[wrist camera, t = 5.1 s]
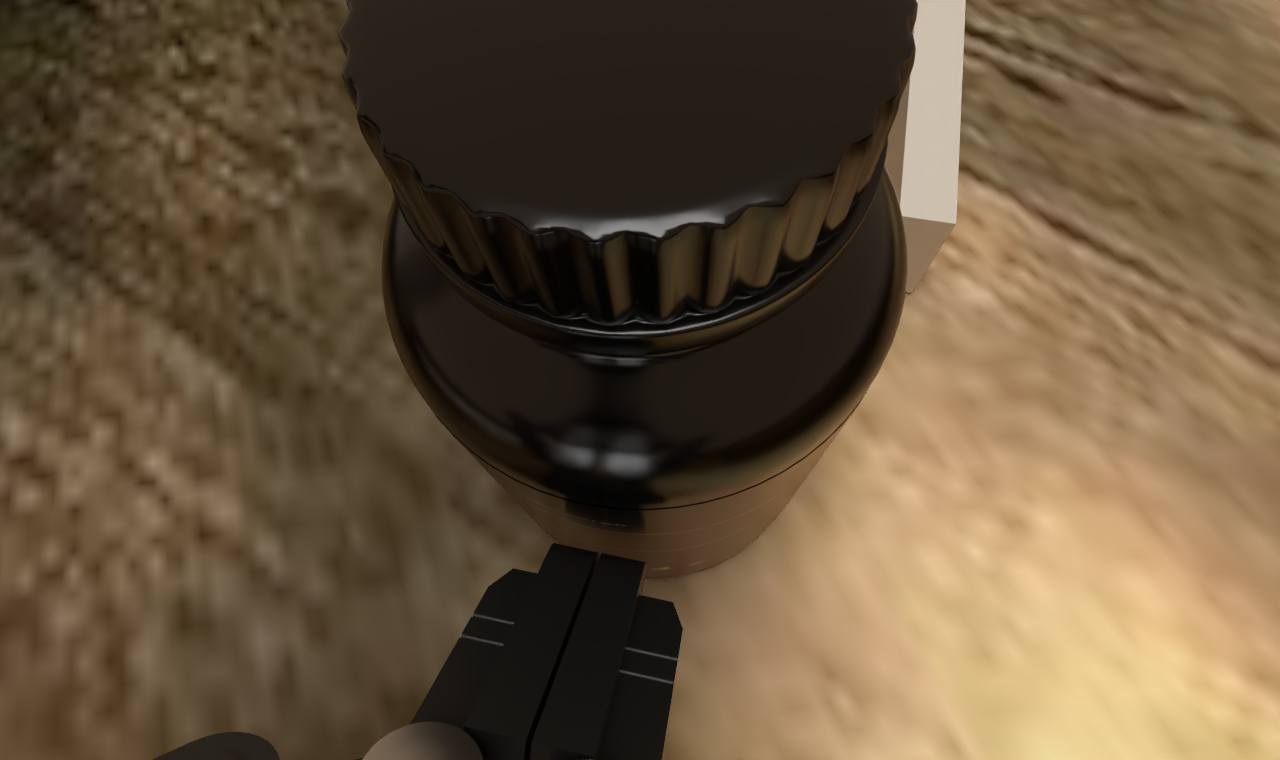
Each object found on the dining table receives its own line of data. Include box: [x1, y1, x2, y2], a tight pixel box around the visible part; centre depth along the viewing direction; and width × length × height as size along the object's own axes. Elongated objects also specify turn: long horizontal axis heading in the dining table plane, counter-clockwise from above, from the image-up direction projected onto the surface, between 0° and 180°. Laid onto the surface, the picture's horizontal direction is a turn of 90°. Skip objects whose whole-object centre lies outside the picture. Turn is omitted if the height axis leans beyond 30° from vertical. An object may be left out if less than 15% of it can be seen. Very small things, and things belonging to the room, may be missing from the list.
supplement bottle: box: [339, 0, 918, 577], centre depth 11 cm, size 7×7×12 cm
